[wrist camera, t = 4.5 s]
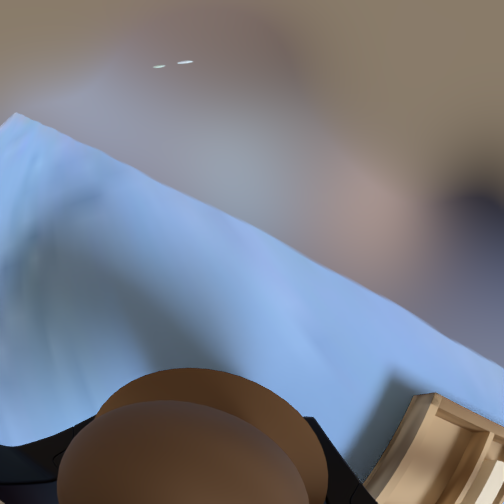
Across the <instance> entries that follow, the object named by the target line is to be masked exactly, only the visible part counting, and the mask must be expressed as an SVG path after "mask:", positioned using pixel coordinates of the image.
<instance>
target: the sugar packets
mask: <svg viewBox="0 0 504 504" xmlns="http://www.w3.org/2000/svg"><path fill="white" fill-rule="evenodd" d="M503 482H504V462H502V461H498V460H484V461H483V463H482V465H481V467H480V469H479V471H478V473H477V475H476V477H475V479H474V481H473V483H472V484H471V486H470V488H469V490H468V492H467V493H466V495H465V497H464V498H463V500H462V502H461V503H460V504H492V503H493V501H494V499H495V497H496V496H497V494H498V492H499V490H500V488H501V486H502V484H503Z"/></svg>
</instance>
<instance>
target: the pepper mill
mask: <svg viewBox="0 0 504 504" xmlns="http://www.w3.org/2000/svg"><path fill="white" fill-rule="evenodd" d="M327 488H328V470H327V462H326V458H325V455H324V452H323V449H322V446H321V444H320V442H319V440H318V438H317V436H316V434H315V433H314V431H313V430H312V428H311V427H310V425H309V424H308V422H307V421H306V420H305V419H304V418H303V417H302V416H301V415H300V413H299V412H298V411H297V410H296V409H294V408H293V407H292V406H291V405H290V404H289V403H288V402H286V401H285V400H284V399H282V398H281V397H279V396H278V395H277V394H275V393H274V392H272V391H271V390H269V389H267V388H265V387H263V386H261V385H259V384H257V383H255V382H253V381H250V380H248V379H245V378H243V377H240V376H237V375H233V374H230V373H226V372H222V371H216V370H210V369H199V368H179V369H170V370H164V371H158V372H155V373H152V374H148V375H145V376H143V377H140V378H138V379H136V380H133V381H131V382H130V383H128V384H127V385H125V386H123V387H122V388H120V389H119V390H118V391H117V392H115V393H114V394H113V395H112V396H111V397H110V398H109V399H108V400H107V401H106V402H105V403H104V404H103V405H102V407H101V408H100V410H99V412H98V413H97V415H96V416H95V418H94V420H93V421H92V422H90V423H89V424H88V425H87V426H85V427H84V428H83V429H82V430H81V431H80V432H79V433H78V434H77V435H76V436H75V437H74V438H73V440H72V441H71V443H70V444H69V446H68V448H67V449H66V451H65V453H64V455H63V457H62V460H61V463H60V466H59V472H58V478H57V496H58V502H59V504H324V502H325V498H326V493H327Z"/></svg>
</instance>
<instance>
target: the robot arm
mask: <svg viewBox="0 0 504 504" xmlns="http://www.w3.org/2000/svg"><path fill="white" fill-rule="evenodd" d="M96 415H97V414H96ZM96 415H94V416H93V417H91V418H89V419H87V420H85V421H83V422H81V423H79V424H77V425H75V426H74V427H71V428H69V429H67V430H65V431H62V432H60V433H58V434H56V435H53V436H50V437H47V438H44V439H41V440H38V441H35V442H32V443H28V444H25V445H21V446H15V447H9V446H3V445H0V504H59V502H58V496H57V478H58V472H59V466H60V463H61V460H62V457H63V455H64V453H65V451H66V449H67V448H68V446H69V444H70V443H71V441H72V440H73V438H74V437H75V436H76V435H77V434H78V433H79V432H80V431H81V430H82V429H83V428H84V427H85V426H87V425H88V424H89V423H90V422H92V421H93V420H94V418H95V416H96ZM303 418H304V419H305V420H306V421H307V422H308V424H309V425H310V427H311V428H312V430H313V431H314V433H315V434H316V436H317V438H318V440H319V442H320V444H321V446H322V449H323V452H324V455H325V458H326V462H327V470H328V488H327V493H326V498H325V502H324V504H379V503H378V502H377V501H376V500H375V499H374V498H373V497H372V496H371V495H370V493H369V492H368V491H367V490H366V489H365V487H364V486H363V485H362V483H359V482H360V481H359V479H358V478H357V477H356V475H355V474H354V473H353V471H352V470H351V469H350V467H349V466H348V465H347V463H346V462H345V460H344V459H343V458H342V456H341V455H340V454H339V452H338V451H337V449H336V448H335V447H334V445H333V444H332V442H331V441H330V440H329V438H328V437H327V435H326V434H325V432H324V431H323V430H322V428H321V427H320V425H319V424H318V422H317V421H316V420H315V418H314V417H303Z"/></svg>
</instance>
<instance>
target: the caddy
mask: <svg viewBox="0 0 504 504" xmlns="http://www.w3.org/2000/svg"><path fill="white" fill-rule="evenodd" d="M484 460H498V461H502V462H504V427H503V426H501V425H498V424H496V423H494V422H492V421H490V420H488V419H486V418H484V417H482V416H480V415H478V414H476V413H474V412H472V411H470V410H468V409H466V408H464V407H462V406H460V405H459V404H457V403H455V402H453V401H451V400H449V399H447V398H445V397H443V396H441V395H439V394H438V393H436V392H435V393H428V394H422V395H414V396H413V398H412V400H411V402H410V405H409V407H408V409H407V411H406V413H405V415H404V417H403V419H402V421H401V423H400V425H399V427H398V429H397V430H396V432H395V434H394V436H393V438H392V439H391V441H390V443H389V445H388V446H387V448H386V450H385V451H384V453H383V455H382V456H381V458H380V460H379V461H378V463H377V464H376V466H375V467H374V469H373V470H372V472H371V473H370V475H369V476H368V478H367V479H366V480H365V482H364V483H363V486H364V487H365V489H366V490H367V491H368V492H369V493H370V495H371V496H372V497H373V498H374V499H375V500H376V501H377V502H378V503H379V504H460V503H461V502H462V500H463V498H464V497H465V495H466V493H467V492H468V490H469V488H470V486H471V484H472V483H473V481H474V479H475V477H476V475H477V473H478V471H479V469H480V467H481V465H482V463H483V461H484ZM503 502H504V482H503V484H502V486H501V488H500V490H499V492H498V494H497V496H496V497H495V499H494V501H493V503H492V504H502V503H503Z"/></svg>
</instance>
